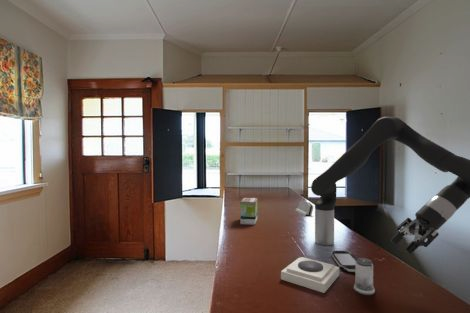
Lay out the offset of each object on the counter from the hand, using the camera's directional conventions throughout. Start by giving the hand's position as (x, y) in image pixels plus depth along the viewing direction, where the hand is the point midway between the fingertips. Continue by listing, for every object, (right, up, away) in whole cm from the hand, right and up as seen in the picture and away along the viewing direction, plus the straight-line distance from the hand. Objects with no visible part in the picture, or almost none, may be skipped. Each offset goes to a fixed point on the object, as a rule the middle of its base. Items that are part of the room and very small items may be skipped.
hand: (399, 246), depth 91 cm
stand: (-27, -15, +10) cm, 32 cm away
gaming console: (-8, -15, +23) cm, 28 cm away
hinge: (-4, -12, +111) cm, 111 cm away
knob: (-11, -15, +1) cm, 19 cm away
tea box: (-46, -13, +89) cm, 101 cm away
